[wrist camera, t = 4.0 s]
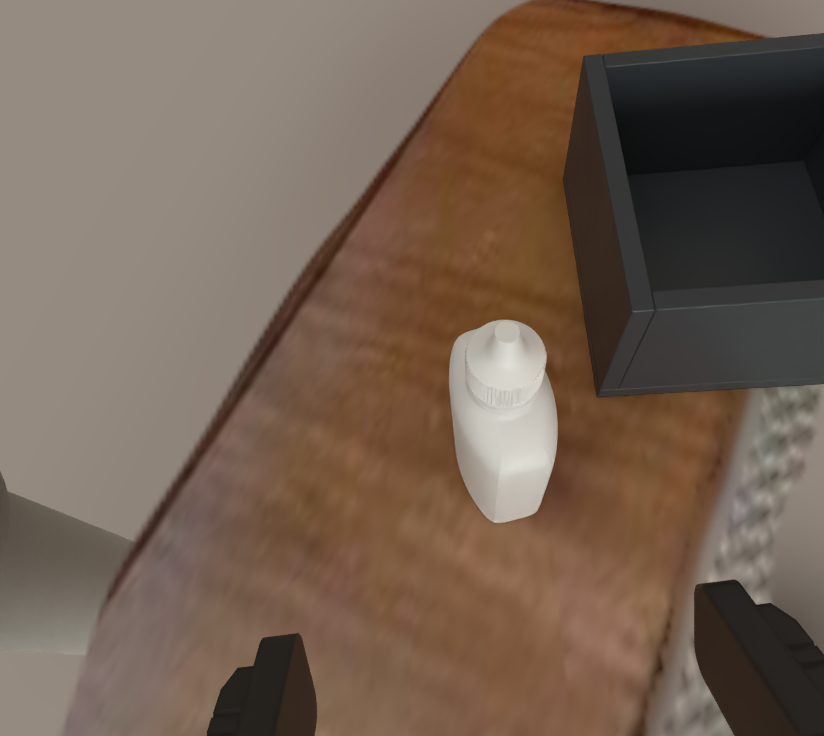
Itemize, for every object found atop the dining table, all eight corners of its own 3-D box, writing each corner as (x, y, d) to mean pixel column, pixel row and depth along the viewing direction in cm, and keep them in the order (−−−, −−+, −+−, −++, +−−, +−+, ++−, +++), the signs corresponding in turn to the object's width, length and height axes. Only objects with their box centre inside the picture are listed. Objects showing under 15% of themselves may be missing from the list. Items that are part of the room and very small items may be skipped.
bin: (596, 397, 30) (632, 311, 23) (562, 178, 36) (583, 55, 29) (888, 380, 29) (1017, 285, 22) (808, 158, 35) (892, 25, 28)
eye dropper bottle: (558, 413, 30) (603, 262, 19) (533, 535, 28) (567, 444, 17) (464, 392, 31) (455, 236, 20) (432, 509, 29) (403, 405, 18)
